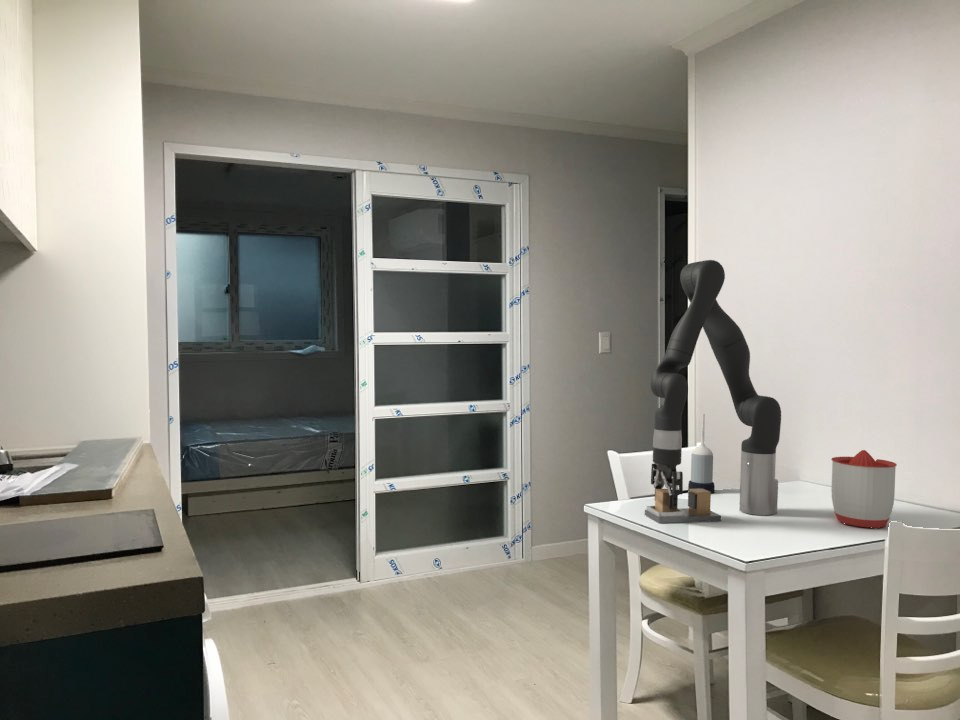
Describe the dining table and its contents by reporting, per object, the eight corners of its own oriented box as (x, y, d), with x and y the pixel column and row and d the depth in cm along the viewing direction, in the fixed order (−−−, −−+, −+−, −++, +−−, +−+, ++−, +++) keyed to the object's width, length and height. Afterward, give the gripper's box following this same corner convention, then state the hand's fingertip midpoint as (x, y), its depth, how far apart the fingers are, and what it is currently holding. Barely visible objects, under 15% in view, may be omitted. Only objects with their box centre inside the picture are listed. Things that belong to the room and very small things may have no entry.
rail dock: (704, 513, 203) (705, 486, 203) (721, 521, 195) (721, 493, 194) (644, 515, 200) (645, 488, 200) (658, 523, 191) (659, 495, 191)
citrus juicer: (896, 520, 199) (898, 448, 198) (893, 534, 184) (895, 456, 184) (833, 512, 207) (835, 443, 207) (825, 525, 193) (828, 450, 192)
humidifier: (711, 489, 237) (713, 413, 236) (717, 494, 229) (719, 415, 228) (685, 488, 238) (687, 412, 237) (690, 493, 229) (693, 415, 229)
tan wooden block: (670, 510, 199) (670, 488, 199) (677, 514, 194) (678, 492, 194) (654, 510, 198) (655, 489, 198) (662, 514, 194) (662, 492, 193)
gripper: (692, 450, 189) (691, 511, 190) (668, 442, 203) (666, 499, 204) (666, 450, 188) (664, 512, 188) (643, 442, 202) (641, 500, 202)
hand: (665, 505), depth 196 cm, fingers open, 8 cm apart
